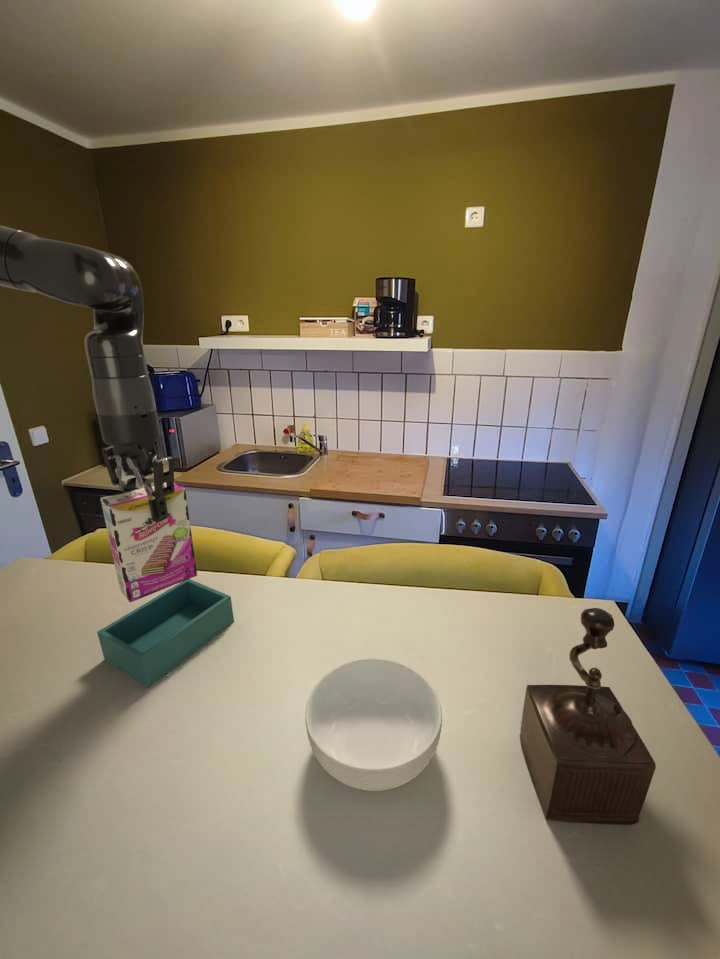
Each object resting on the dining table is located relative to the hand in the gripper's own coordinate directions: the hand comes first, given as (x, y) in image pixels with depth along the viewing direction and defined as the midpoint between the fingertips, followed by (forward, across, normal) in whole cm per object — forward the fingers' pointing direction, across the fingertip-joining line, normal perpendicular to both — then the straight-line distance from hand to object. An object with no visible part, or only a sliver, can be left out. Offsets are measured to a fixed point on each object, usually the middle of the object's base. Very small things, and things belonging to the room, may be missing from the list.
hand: (147, 515), depth 67 cm
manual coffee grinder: (+24, +62, +11) cm, 68 cm away
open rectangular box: (+24, 0, 0) cm, 24 cm away
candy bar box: (+13, 0, 0) cm, 13 cm away
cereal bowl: (+24, +40, 0) cm, 47 cm away
